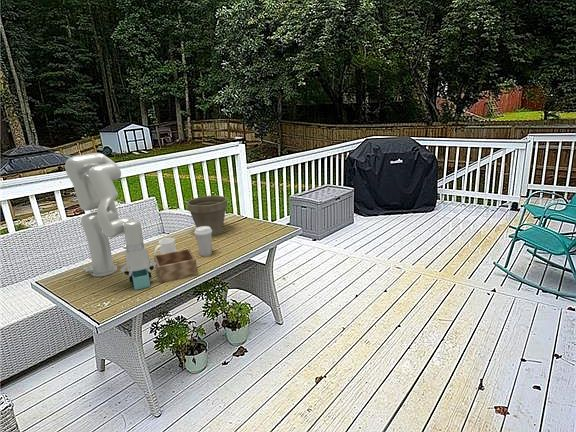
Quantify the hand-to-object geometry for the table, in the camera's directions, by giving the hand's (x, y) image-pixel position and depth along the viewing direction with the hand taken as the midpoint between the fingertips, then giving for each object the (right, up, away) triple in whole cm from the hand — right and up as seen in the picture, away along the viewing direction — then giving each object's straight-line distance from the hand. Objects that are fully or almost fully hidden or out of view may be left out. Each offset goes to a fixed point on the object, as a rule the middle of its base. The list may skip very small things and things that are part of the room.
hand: (141, 280), depth 188 cm
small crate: (0, -1, +1) cm, 1 cm away
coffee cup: (+24, +10, +33) cm, 42 cm away
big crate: (+14, +2, +11) cm, 18 cm away
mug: (+3, +7, +28) cm, 29 cm away
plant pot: (+20, +20, +66) cm, 72 cm away
